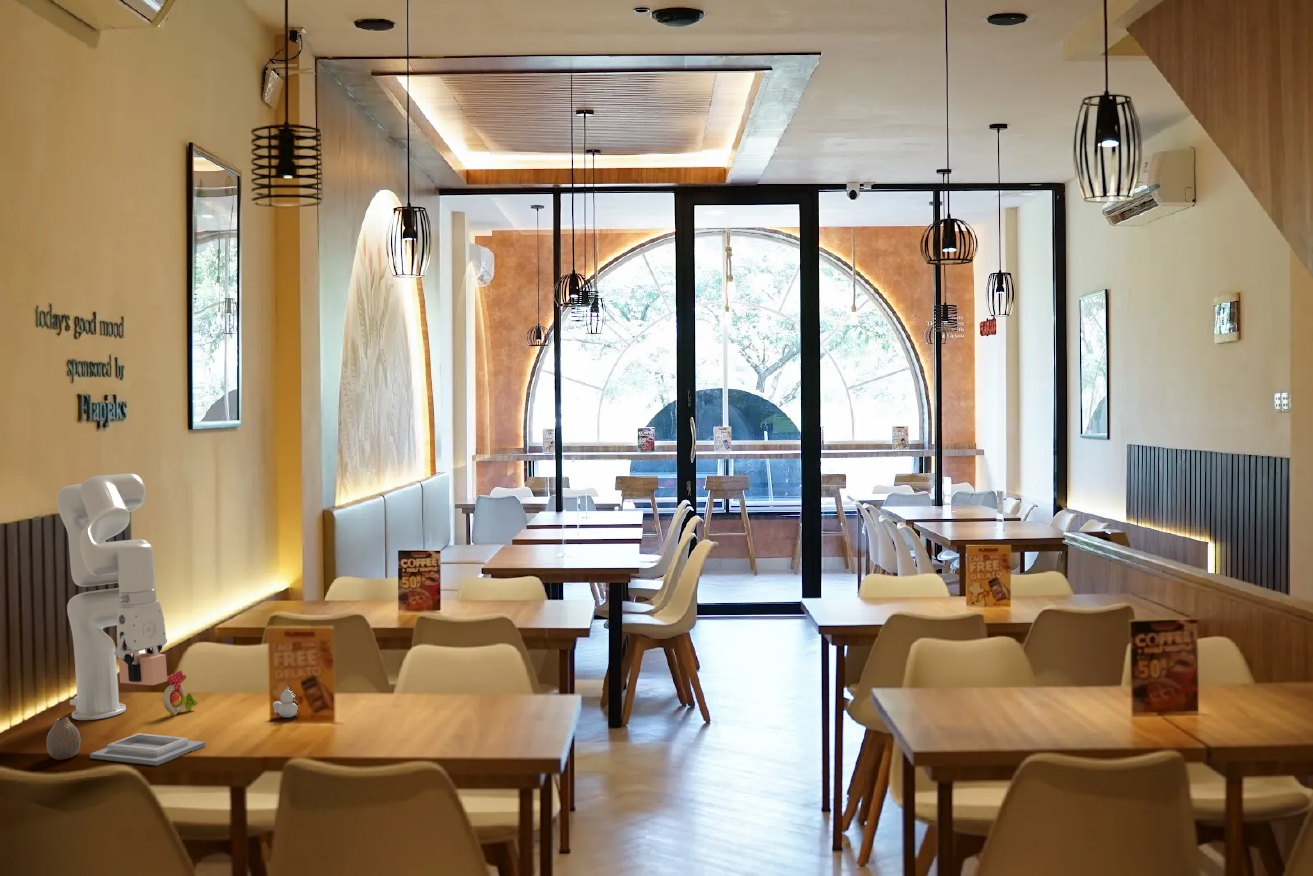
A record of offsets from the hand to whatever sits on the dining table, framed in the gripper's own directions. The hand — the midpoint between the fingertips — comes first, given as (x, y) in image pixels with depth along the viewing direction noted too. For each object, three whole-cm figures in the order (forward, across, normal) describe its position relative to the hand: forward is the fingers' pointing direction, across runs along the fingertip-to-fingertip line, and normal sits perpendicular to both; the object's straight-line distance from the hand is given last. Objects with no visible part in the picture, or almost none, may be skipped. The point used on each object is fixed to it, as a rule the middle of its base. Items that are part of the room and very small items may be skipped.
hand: (143, 678), depth 265 cm
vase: (+17, -8, +17) cm, 25 cm away
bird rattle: (+17, +28, +19) cm, 38 cm away
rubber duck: (+17, +32, -12) cm, 38 cm away
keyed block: (+1, 0, 0) cm, 1 cm away
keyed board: (+17, 0, 0) cm, 17 cm away
